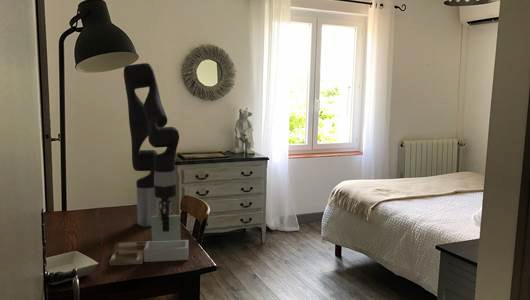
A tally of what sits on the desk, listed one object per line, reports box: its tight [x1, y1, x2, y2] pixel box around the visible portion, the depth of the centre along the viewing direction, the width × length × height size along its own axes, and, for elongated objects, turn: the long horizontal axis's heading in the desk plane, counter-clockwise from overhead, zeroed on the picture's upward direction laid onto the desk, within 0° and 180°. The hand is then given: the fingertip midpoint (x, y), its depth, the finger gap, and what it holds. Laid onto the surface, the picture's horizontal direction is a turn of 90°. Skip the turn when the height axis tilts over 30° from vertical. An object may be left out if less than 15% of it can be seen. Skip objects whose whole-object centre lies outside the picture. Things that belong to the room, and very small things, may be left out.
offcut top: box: [119, 241, 138, 254], centre depth 163 cm, size 4×6×2 cm, turn 106°
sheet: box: [151, 214, 182, 242], centre depth 169 cm, size 2×10×9 cm, turn 98°
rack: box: [108, 241, 147, 266], centre depth 168 cm, size 14×11×4 cm
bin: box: [143, 239, 190, 263], centre depth 170 cm, size 9×15×4 cm, turn 98°
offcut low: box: [115, 249, 138, 261], centre depth 163 cm, size 4×7×2 cm, turn 98°
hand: (166, 230), depth 169 cm, fingers closed on sheet, 1 cm apart
